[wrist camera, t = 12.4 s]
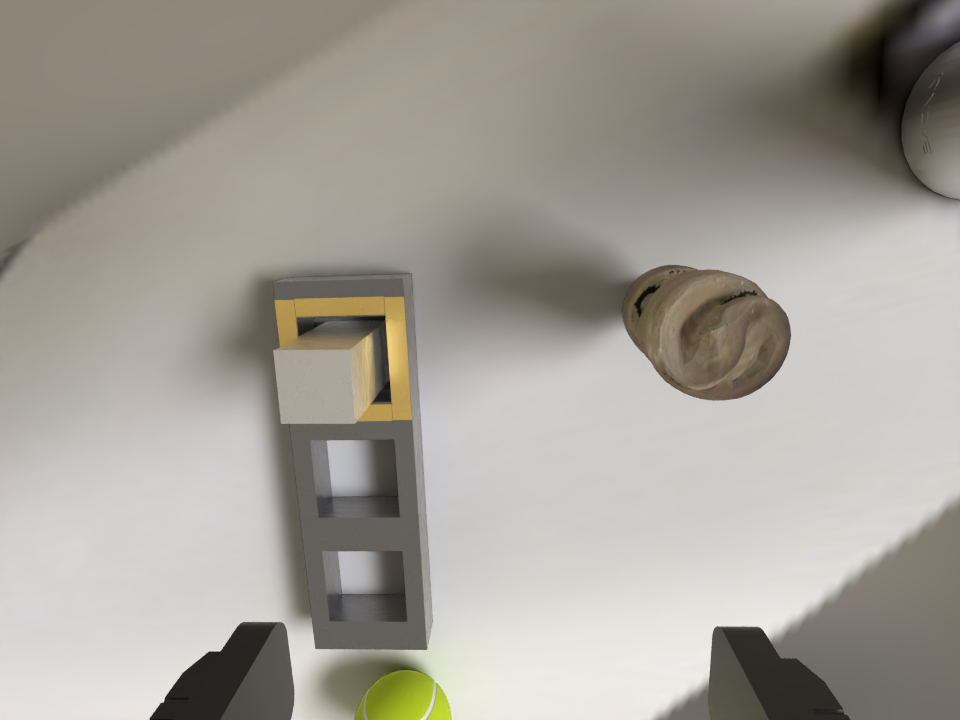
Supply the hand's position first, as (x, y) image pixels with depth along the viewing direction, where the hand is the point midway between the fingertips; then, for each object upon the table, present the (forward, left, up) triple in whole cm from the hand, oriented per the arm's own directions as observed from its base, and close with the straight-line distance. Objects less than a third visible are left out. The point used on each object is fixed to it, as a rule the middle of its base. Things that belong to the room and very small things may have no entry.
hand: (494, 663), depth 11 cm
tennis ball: (+8, +27, -28) cm, 40 cm away
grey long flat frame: (+10, +8, -28) cm, 31 cm away
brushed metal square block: (+10, 0, -28) cm, 30 cm away
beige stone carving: (-9, -3, -28) cm, 30 cm away
